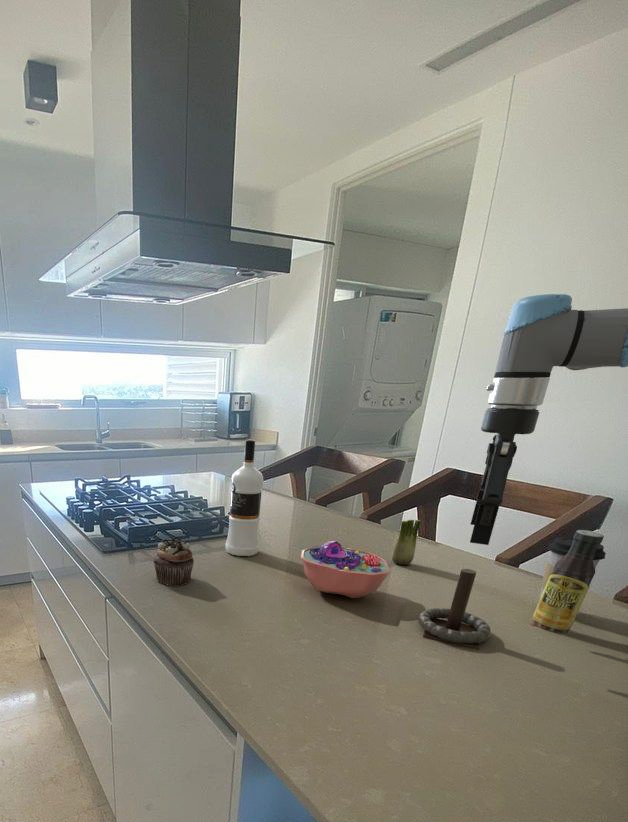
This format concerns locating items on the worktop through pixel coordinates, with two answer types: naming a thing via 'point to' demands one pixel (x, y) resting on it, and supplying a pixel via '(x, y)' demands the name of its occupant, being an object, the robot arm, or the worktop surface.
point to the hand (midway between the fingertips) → (478, 533)
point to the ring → (452, 635)
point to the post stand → (458, 610)
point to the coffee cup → (560, 550)
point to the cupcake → (173, 562)
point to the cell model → (344, 570)
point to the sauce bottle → (568, 584)
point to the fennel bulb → (406, 542)
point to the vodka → (245, 506)
